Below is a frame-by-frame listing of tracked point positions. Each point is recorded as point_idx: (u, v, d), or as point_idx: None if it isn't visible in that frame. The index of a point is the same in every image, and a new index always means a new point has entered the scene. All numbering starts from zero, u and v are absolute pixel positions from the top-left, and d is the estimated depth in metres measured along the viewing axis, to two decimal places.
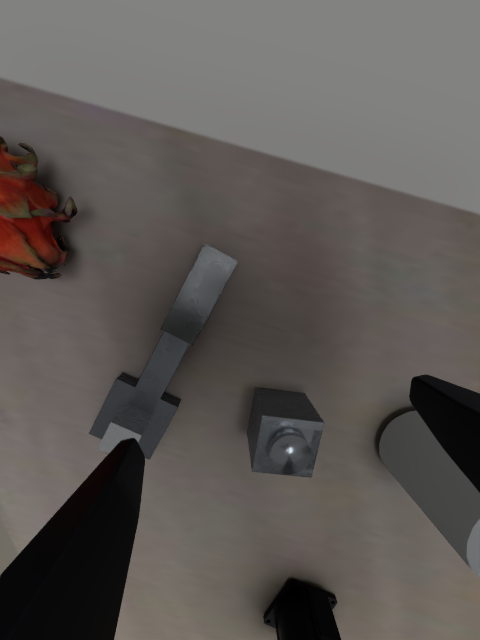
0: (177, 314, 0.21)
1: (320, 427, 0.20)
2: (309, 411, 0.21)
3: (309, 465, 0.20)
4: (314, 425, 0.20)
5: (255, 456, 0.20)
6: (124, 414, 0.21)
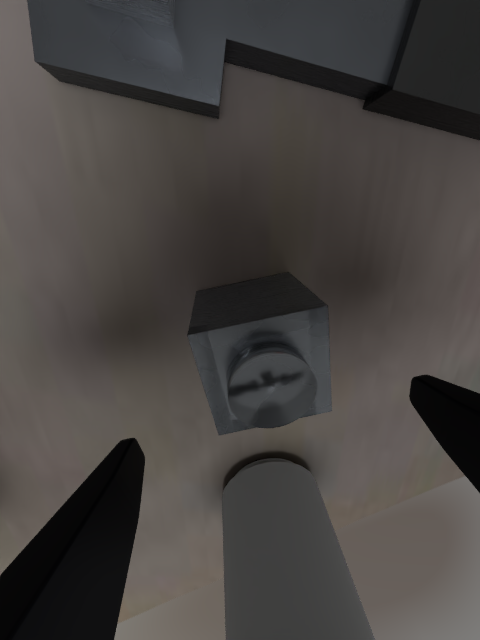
0: (469, 13, 0.08)
1: (321, 409, 0.11)
2: None
3: (241, 423, 0.11)
4: (323, 399, 0.10)
5: (226, 328, 0.09)
6: None
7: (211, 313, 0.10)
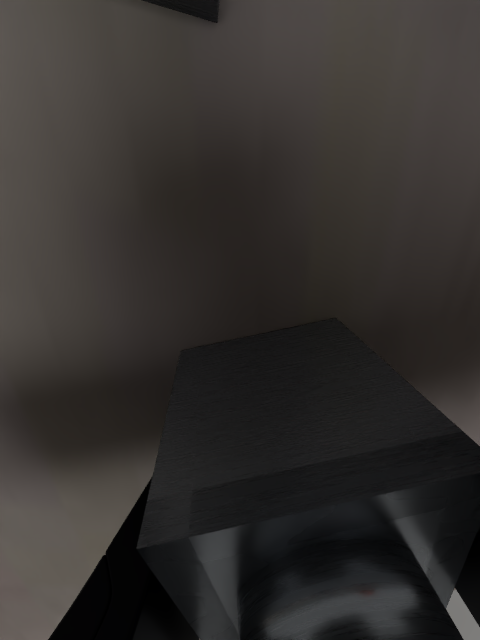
0: None
1: None
2: None
3: None
4: None
5: (238, 525, 0.03)
6: None
7: (203, 438, 0.05)
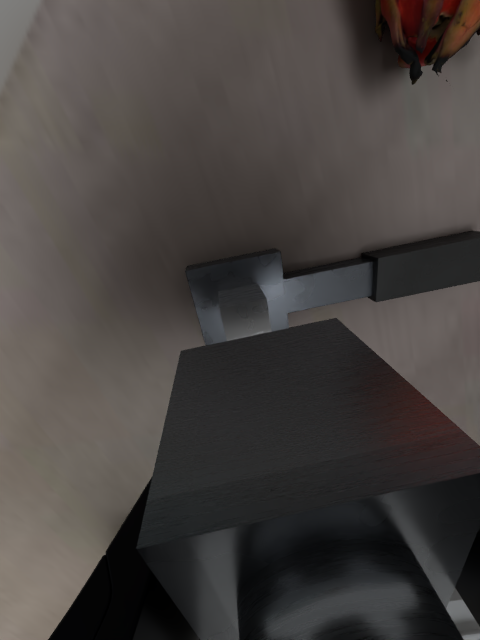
0: (404, 263, 0.16)
1: None
2: None
3: None
4: None
5: (238, 525, 0.03)
6: None
7: (203, 437, 0.05)
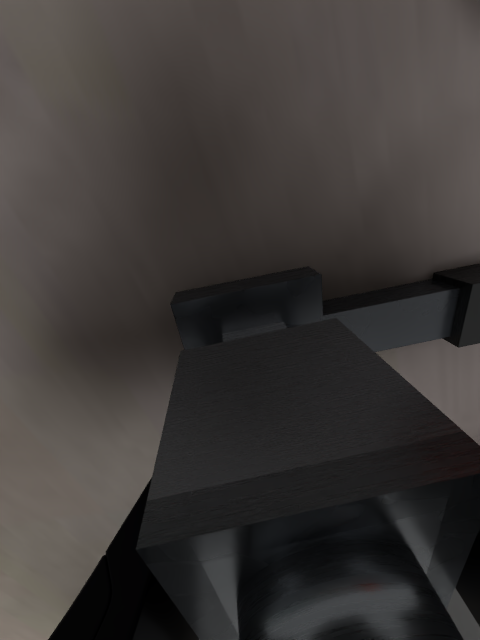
0: None
1: None
2: None
3: None
4: None
5: (237, 525, 0.03)
6: None
7: (202, 438, 0.05)
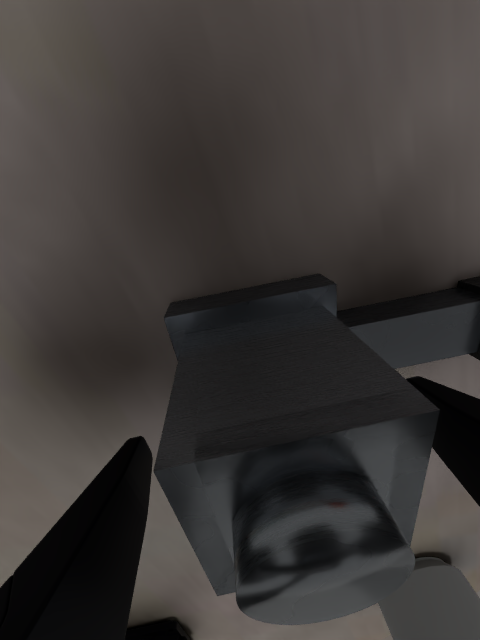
0: None
1: None
2: None
3: None
4: None
5: (232, 454, 0.04)
6: None
7: (205, 398, 0.06)
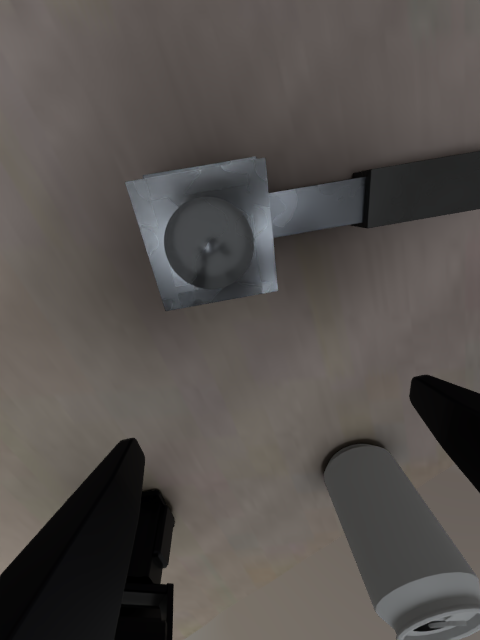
0: (402, 178, 0.14)
1: (268, 287, 0.11)
2: None
3: (187, 298, 0.11)
4: (268, 276, 0.11)
5: (164, 177, 0.09)
6: None
7: None
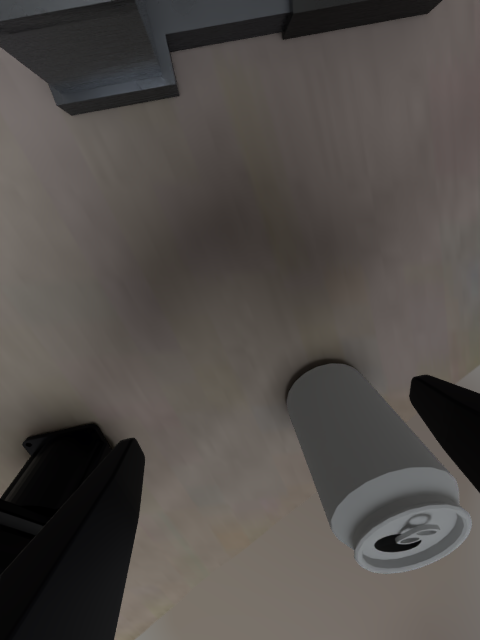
0: None
1: None
2: (138, 1, 0.09)
3: (0, 1, 0.08)
4: None
5: None
6: None
7: None
